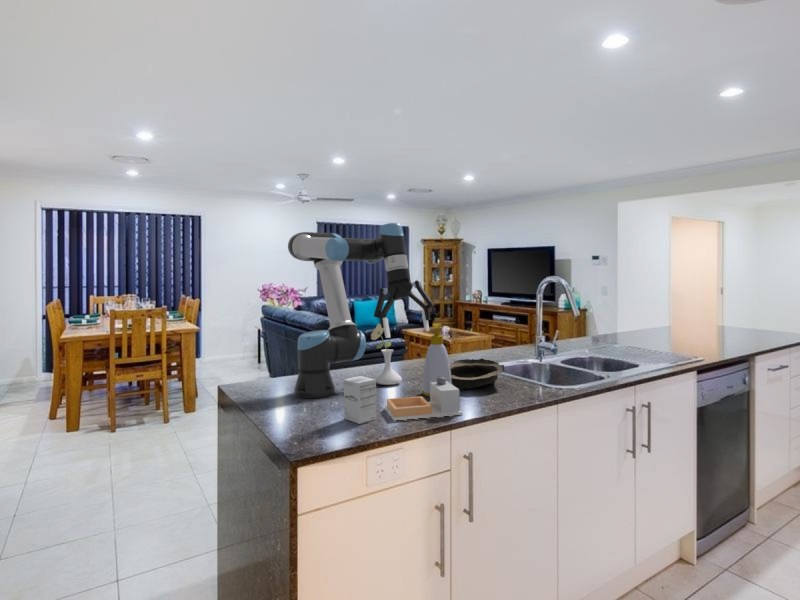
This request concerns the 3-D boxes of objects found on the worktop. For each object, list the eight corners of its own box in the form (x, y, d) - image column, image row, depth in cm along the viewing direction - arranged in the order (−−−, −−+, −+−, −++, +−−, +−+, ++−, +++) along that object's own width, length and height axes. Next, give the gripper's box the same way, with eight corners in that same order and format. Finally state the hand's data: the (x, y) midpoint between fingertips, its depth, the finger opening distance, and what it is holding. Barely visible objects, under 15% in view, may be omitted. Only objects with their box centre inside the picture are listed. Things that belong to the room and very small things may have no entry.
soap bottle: (420, 397, 170) (419, 325, 169) (423, 390, 182) (422, 321, 180) (452, 398, 169) (451, 325, 167) (453, 390, 180) (452, 321, 179)
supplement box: (343, 419, 147) (342, 379, 146) (361, 414, 152) (361, 375, 151) (358, 424, 141) (357, 382, 141) (377, 419, 147) (376, 378, 146)
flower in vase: (390, 379, 201) (389, 320, 199) (407, 384, 192) (406, 322, 190) (365, 384, 193) (363, 323, 191) (381, 389, 184) (380, 325, 182)
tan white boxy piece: (393, 421, 144) (393, 388, 143) (384, 408, 158) (384, 378, 157) (462, 415, 149) (461, 383, 148) (447, 403, 163) (447, 374, 162)
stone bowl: (500, 378, 199) (500, 356, 197) (507, 398, 174) (508, 374, 173) (441, 377, 201) (441, 355, 200) (440, 397, 176) (440, 372, 175)
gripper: (358, 276, 156) (367, 340, 153) (429, 260, 148) (440, 327, 145) (368, 279, 163) (376, 340, 160) (436, 263, 155) (447, 327, 152)
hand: (407, 334), depth 153 cm, fingers open, 13 cm apart
